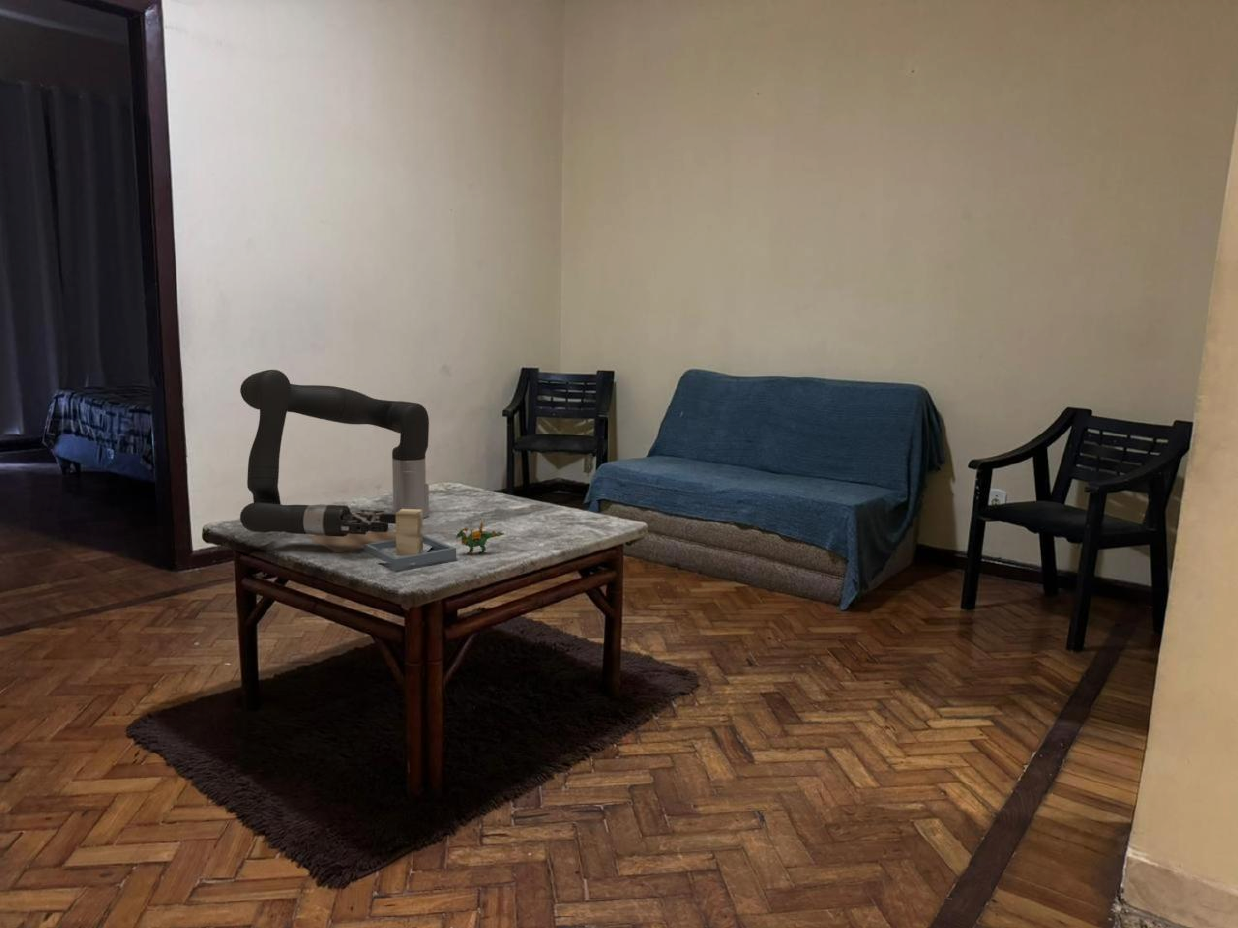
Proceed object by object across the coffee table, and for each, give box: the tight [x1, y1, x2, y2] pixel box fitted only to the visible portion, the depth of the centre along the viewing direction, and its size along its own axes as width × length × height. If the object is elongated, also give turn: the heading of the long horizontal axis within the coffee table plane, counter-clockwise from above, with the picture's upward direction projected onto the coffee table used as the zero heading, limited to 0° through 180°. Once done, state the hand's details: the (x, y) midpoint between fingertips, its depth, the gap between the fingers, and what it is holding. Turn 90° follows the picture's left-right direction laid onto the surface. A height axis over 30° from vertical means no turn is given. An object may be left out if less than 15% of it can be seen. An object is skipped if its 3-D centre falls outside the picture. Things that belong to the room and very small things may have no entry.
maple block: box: [395, 509, 424, 556], centre depth 209 cm, size 5×5×11 cm
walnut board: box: [307, 529, 396, 553], centre depth 222 cm, size 20×18×2 cm
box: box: [363, 534, 457, 573], centre depth 210 cm, size 16×16×3 cm
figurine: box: [455, 521, 505, 556], centre depth 216 cm, size 3×12×8 cm, turn 107°
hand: (393, 523), depth 209 cm, fingers open, 8 cm apart
